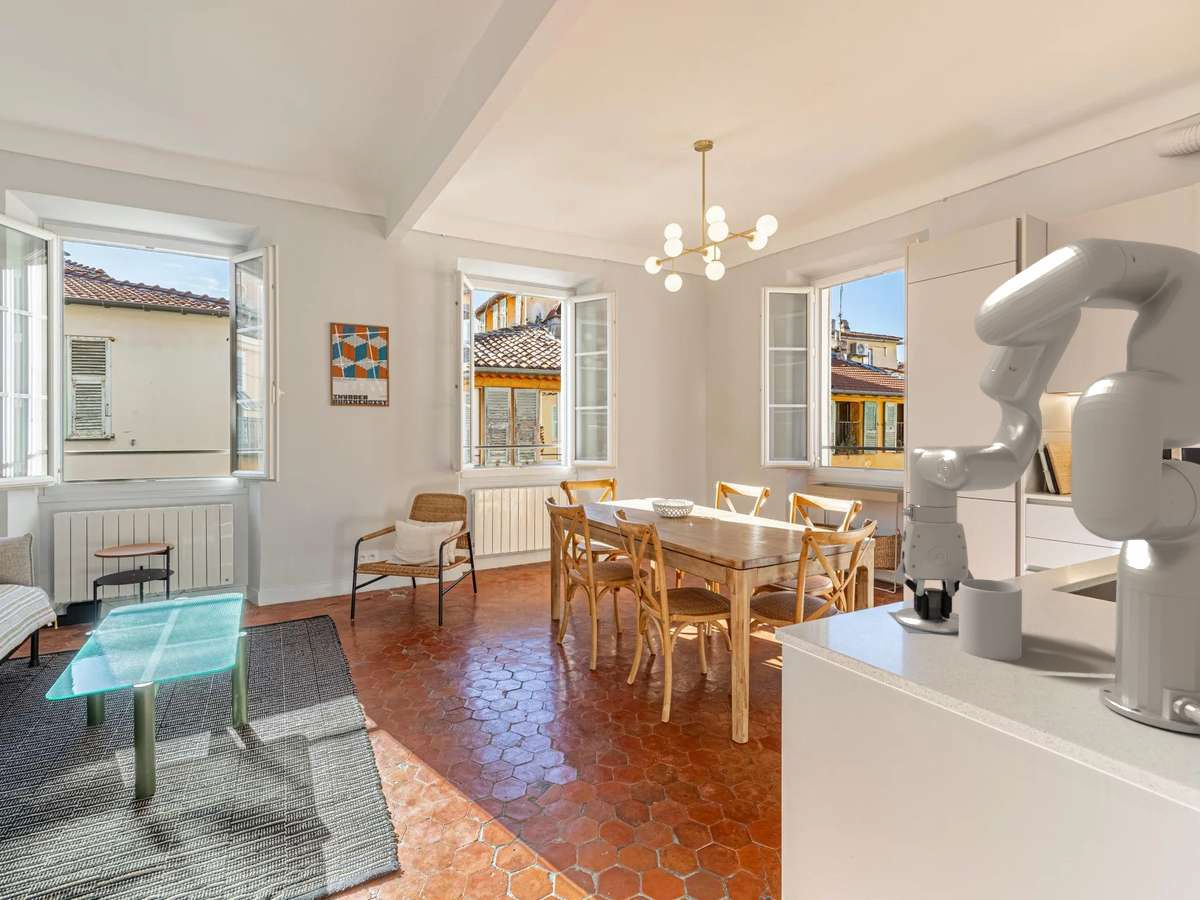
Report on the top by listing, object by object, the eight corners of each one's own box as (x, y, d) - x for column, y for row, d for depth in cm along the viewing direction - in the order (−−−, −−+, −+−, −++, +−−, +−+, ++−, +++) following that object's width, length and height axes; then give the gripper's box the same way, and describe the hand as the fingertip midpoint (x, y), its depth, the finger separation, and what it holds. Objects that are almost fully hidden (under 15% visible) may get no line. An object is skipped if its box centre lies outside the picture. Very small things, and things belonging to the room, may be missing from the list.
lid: (983, 635, 105) (984, 600, 105) (908, 632, 107) (908, 598, 107) (955, 614, 117) (955, 582, 116) (887, 612, 119) (887, 581, 118)
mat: (983, 638, 105) (983, 635, 105) (908, 636, 107) (908, 632, 107) (954, 617, 117) (954, 614, 117) (887, 615, 119) (887, 612, 119)
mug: (1009, 668, 92) (1009, 595, 92) (948, 652, 99) (949, 584, 99) (1038, 650, 99) (1039, 582, 99) (980, 636, 106) (980, 573, 106)
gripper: (890, 517, 109) (890, 621, 109) (992, 518, 106) (991, 624, 107) (878, 511, 116) (878, 608, 117) (973, 512, 113) (972, 611, 114)
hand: (932, 615), depth 112 cm, fingers closed on lid, 3 cm apart
